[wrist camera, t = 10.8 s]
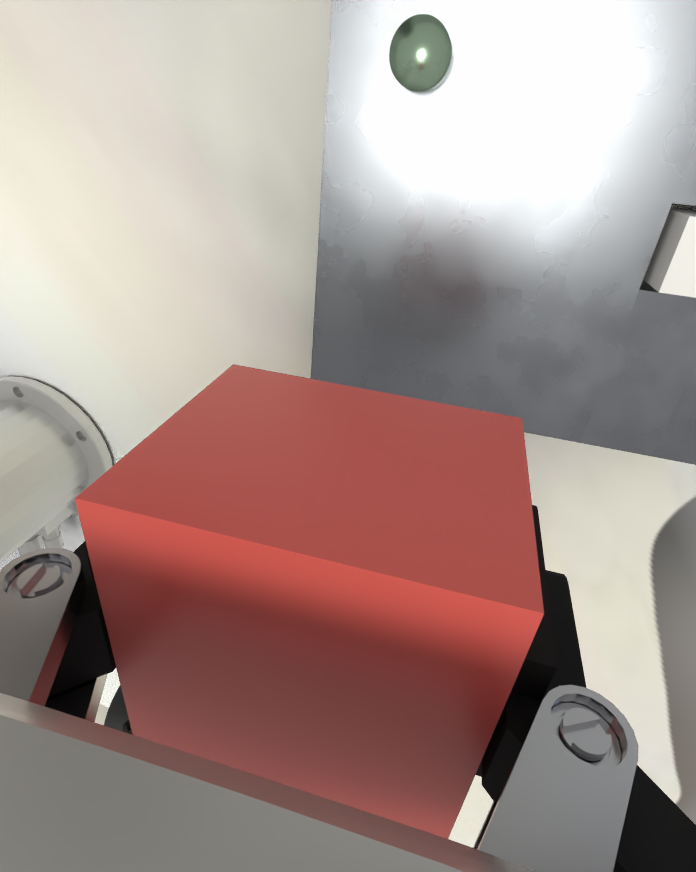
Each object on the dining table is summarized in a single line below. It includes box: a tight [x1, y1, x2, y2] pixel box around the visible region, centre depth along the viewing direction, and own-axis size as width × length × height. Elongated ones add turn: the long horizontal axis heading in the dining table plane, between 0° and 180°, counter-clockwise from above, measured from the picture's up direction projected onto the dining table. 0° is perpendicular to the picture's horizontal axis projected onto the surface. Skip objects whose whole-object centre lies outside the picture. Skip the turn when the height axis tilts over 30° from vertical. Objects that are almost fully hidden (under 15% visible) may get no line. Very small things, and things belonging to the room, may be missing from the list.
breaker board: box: [311, 0, 696, 465], centre depth 23 cm, size 20×22×4 cm
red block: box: [75, 364, 544, 839], centre depth 10 cm, size 6×6×5 cm
